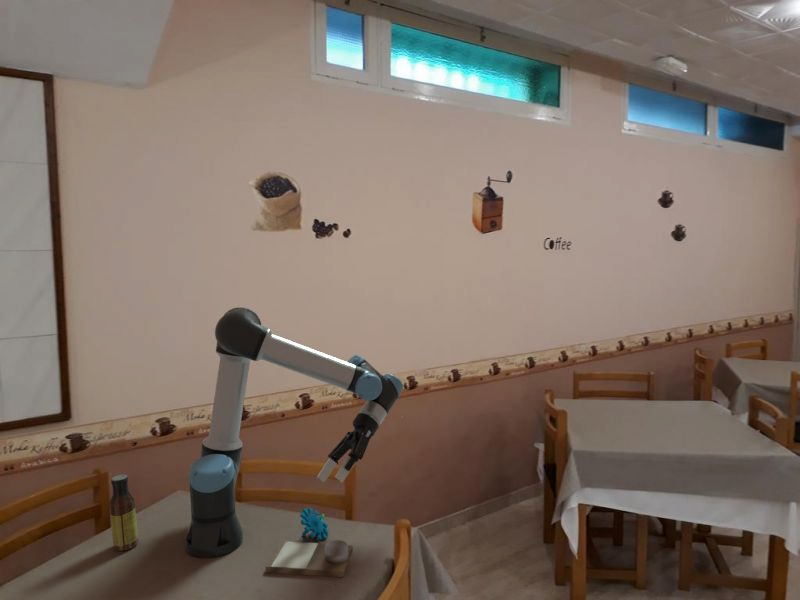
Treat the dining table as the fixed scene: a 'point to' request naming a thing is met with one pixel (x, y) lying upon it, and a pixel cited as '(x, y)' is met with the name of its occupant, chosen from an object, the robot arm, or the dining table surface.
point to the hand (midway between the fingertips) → (329, 479)
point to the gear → (314, 524)
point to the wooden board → (310, 558)
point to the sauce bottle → (123, 515)
